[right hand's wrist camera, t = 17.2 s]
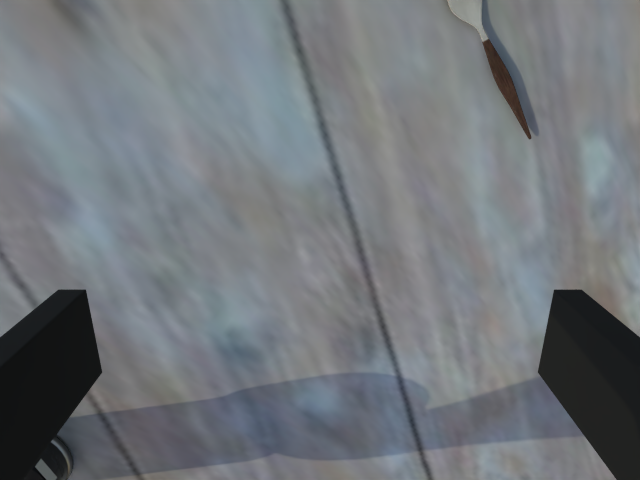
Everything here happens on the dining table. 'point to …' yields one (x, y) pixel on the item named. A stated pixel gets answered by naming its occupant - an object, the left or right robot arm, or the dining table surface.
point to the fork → (490, 55)
